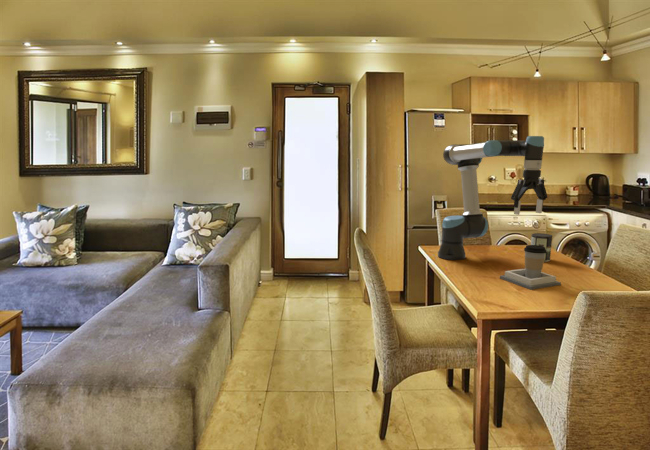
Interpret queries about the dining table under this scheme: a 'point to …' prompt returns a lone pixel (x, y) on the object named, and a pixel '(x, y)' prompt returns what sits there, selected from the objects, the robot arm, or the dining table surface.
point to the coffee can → (543, 243)
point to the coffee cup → (534, 260)
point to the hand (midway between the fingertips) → (527, 213)
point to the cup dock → (535, 283)
